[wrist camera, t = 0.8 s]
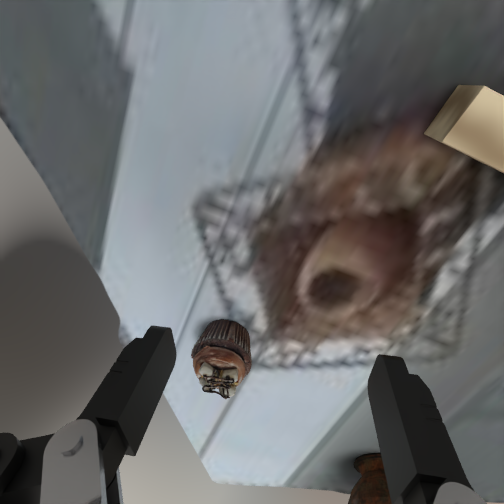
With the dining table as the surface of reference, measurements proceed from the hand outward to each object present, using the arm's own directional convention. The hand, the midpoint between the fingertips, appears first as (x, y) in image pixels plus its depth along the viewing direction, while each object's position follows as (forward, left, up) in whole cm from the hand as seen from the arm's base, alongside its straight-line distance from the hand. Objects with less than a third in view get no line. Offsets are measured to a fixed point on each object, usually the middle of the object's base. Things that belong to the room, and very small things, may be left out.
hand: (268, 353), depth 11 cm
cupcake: (+29, +5, -25) cm, 38 cm away
